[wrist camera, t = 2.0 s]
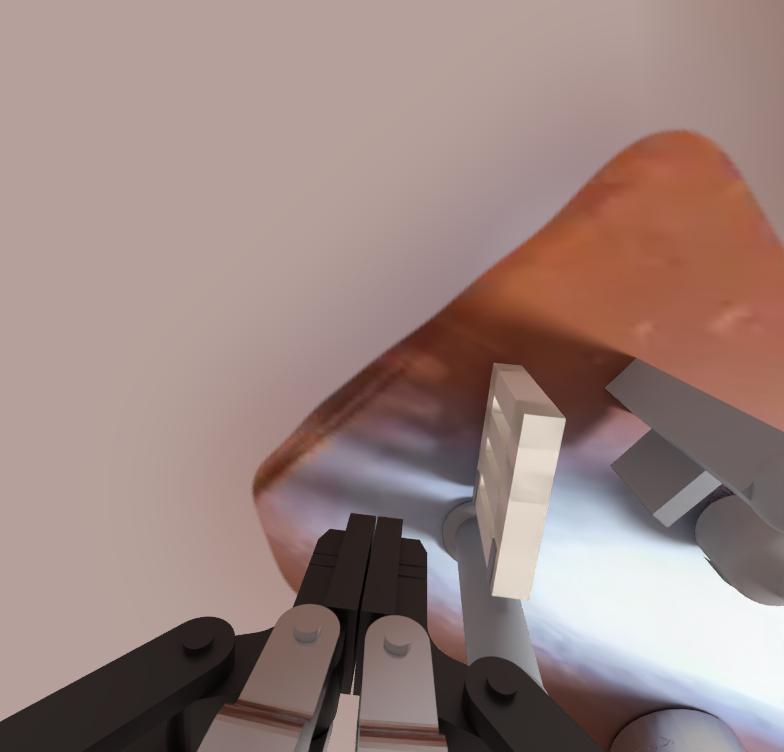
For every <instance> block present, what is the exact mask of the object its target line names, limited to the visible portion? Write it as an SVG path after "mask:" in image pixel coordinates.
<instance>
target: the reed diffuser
mask: <svg viewBox="0 0 784 752" xmlns="http://www.w3.org/2000/svg"><path fill="white" fill-rule="evenodd" d="M695 537H696V541H697V543H698V545H699V547H700V548H701V549H702V551H703V552H704V553H705V554H706V556H707V557H708V558H709V559H710V560H711V561H709V560H708V559H707V558H705V557H704V558H705V559H706V560H707V561H708V562H709V563H710V565H711V566H712V567H713V568H714V569H715V571H716V572H717V573H718V574H719V575H720V576H721V578H722V579H723V580H724V581H725V582H727V583H728V584H729V585H731V586H733V587H734V588H735V589H737V590H738V591H739V592H740V593H741V594H743V595H744V596H746V597H747V598H749V599H751V600H753V601H755V602H758V603H761V604H764V605H771V606H784V533H782V532H780V531H778V530H776V529H774V528H772V527H771V526H769V525H768V524H767V523H765V522H764V521H763V520H762V519H761V518H760V517H759V516H758V515H757V514H756V512H755V511H754V510H753V508H752V507H751V506H750V505H749V504H748V503H746V502H745V501H744V500H743V499H741V498H740V497H739V496H737V495H731V496H727V497H723V498H721V499H719V500H717V501H715V502H713V503H712V504H710V505H709V506H708V507H707V508H706V509H705V510H704V511H703V512H702V513H701V515H700V516H699V518H698V520H697V522H696V526H695Z"/></svg>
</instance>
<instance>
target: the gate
mask: <svg viewBox="0 0 784 752" xmlns="http://www.w3.org/2000/svg"><path fill="white" fill-rule="evenodd" d="M565 421H566V418H565V417H564V416H563V414H562V413H561V412H560V411H559V410H558V408H557V407H556V406H555V405H554V404H553V402H552V401H551V400H550V399H549V398H548V396H547V395H546V394H545V393H544V392H543V390H542V389H541V388H540V387H539V386H538V384H537V383H536V382H535V381H534V380H533V378H532V377H531V376H530V375H529V374H528V372H527V371H526V370H525V369H524V368H523V366H522V365H512V364H502V363H493V369H492V376H491V382H490V389H489V395H488V401H487V408H486V414H485V421H484V427H483V434H482V440H481V447H480V453H479V460H478V466H477V471H476V478H475V484H474V491H473V497H472V501H473V506H475V508H476V513H477V519H478V524H479V529H480V535H481V540H482V545H483V551H484V556H485V561H486V567H487V572H486V578H487V584H488V587H490V588H491V593H492V596H498V597H506V598H514V599H522V600H529V596H530V592H531V587H532V582H533V577H534V572H535V567H536V562H537V557H538V553H539V548H540V543H541V538H542V533H543V528H544V523H545V519H546V514H547V509H548V504H549V499H550V494H551V489H552V485H553V480H554V475H555V470H556V465H557V460H558V455H559V450H560V446H561V441H562V436H563V431H564V426H565Z"/></svg>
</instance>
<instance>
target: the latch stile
mask: <svg viewBox="0 0 784 752" xmlns="http://www.w3.org/2000/svg"><path fill="white" fill-rule="evenodd" d="M605 389H606V390H607V391H608V392H609V393H611V394H612V395H613V396H614V397H615V398H616V399H617V400H618V401H620V402H621V403H622V404H623V405H624V406H625V407H626V408H627V409H628V410H630V411H631V412H632V413H633V414H634V415H635V416H637V417H638V418H639V419H641V420H642V421H643V422H644V423H646V424H647V425H648V426H649V427H651V428H652V429H651V430H650V431H649V432H647V433H646V434H645V435H644V436H643V437H642V438H641V439H640V440H638V441H637V442H636V443H635V444H634V445H633V446H632V447H631V448H629V449H628V450H627V451H626V452H625V453H624V454H623V455H622V456H620V457H619V458H618V459H617V460H616V461H615V462H614V463H613V464H611V465H610V466H611V467H612V468H613V470H614V471H615V472H616V473H617V474H618V475H619V477H620V478H621V479H622V480H623V481H624V482H625V484H626V485H627V486H628V487H629V488H630V489H631V491H632V492H633V493H634V494H635V495H636V496H637V498H638V499H639V500H640V501H641V502H642V503H643V505H644V506H645V507H646V508H647V509H648V510H649V512H650V513H651V514H652V515H653V516H654V517H655V518H657V519H658V520H659V521H660V522H661V523H662V524H663V525H665V526H666V527H667V528H668V527H669V526H670V525H672V524H673V523H674V522H675V521H676V520H678V519H679V518H680V517H681V516H683V515H684V514H685V513H686V512H688V511H689V510H690V509H691V508H692V507H694V506H695V505H696V504H697V503H699V502H700V501H701V500H702V499H704V498H705V497H706V496H707V495H709V494H710V493H711V492H712V491H713V490H715V489H716V488H717V487H718V486H720V485H721V484H723V485H725V486H726V487H727V488H729V489H730V490H731V491H732V492H734V493H735V494H736V495H737V496H739V497H740V498H741V499H743V500H744V501H745V502H746V503H748V504H749V505H750V506H751V507H752V508H753V510H754V511H755V512H756V514H757V515H758V516H759V517H760V518H761V519H762V520H763V521H764V522H765V523H767V524H768V525H769V526H771V527H772V528H774V529H776V530H778V531H780V532H782V533H784V432H782V431H780V430H778V429H776V428H774V427H772V426H770V425H768V424H766V423H764V422H763V421H761V420H759V419H757V418H755V417H753V416H751V415H749V414H747V413H745V412H743V411H741V410H739V409H737V408H735V407H733V406H731V405H729V404H727V403H725V402H723V401H721V400H719V399H717V398H715V397H713V396H711V395H709V394H707V393H705V392H703V391H701V390H699V389H697V388H695V387H693V386H691V385H689V384H687V383H685V382H683V381H681V380H679V379H677V378H675V377H673V376H671V375H669V374H667V373H665V372H663V371H661V370H659V369H657V368H655V367H653V366H651V365H649V364H648V363H646V362H644V361H642V360H640V359H638V358H636V359H635V360H634V361H633V362H632V363H630V364H629V365H628V366H627V367H626V368H625V369H624V370H623V371H622V372H621V373H620V374H619V375H618V376H617V377H616V378H615V379H614V380H613V381H611V382H610V383H609V384H608V385H607V386H606V387H605Z"/></svg>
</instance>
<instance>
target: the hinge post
mask: <svg viewBox="0 0 784 752" xmlns="http://www.w3.org/2000/svg"><path fill="white" fill-rule="evenodd" d="M443 543H444V546H445V548H446V550H447V552H448V554H449V555H450V556H451V557H452V558H453V559H454V560H455V561H457V562H458V570H459V581H460V591H461V601H462V611H463V622H464V632H465V642H466V652H467V663H468V666H470V665H471V664H472V663H473V662H474V661H475V660H477V659H479V658H482V657H487V656H495V657H500V658H504V659H507V660H509V661H511V662H513V663H515V664H516V665H518V666H519V667H520V668H521V669H523V670H524V671H525V672H526V673H527V674H528V675H529V676H530V677H531V678H532V679H533V680H534V681H535V682H536V683H537V684H538V685H539V686H540V687H541V688H542V689H543V690H544V691H545V692H546V690H545V689H544V687H543V684H542V680H541V676H540V673H539V669H538V665H537V661H536V658H535V654H534V650H533V646H532V643H531V639H530V635H529V631H528V628H527V624H526V620H525V616H524V613H523V609H522V605H521V601H520V599H514V598H506V597H498V596H492V593H491V588H490V587H488V584H487V578H486V572H487V567H486V561H485V556H484V551H483V545H482V540H481V535H480V529H479V524H478V519H477V513H476V508H475V506H473V501H469V502H465V503H463V504H460V505H459V506H457V507H455V508H454V509H453V510H452V511H451V512H450V513H449V514H448V516H447V517H446V519H445V521H444V524H443ZM546 693H547V692H546ZM547 694H548V693H547Z"/></svg>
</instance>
